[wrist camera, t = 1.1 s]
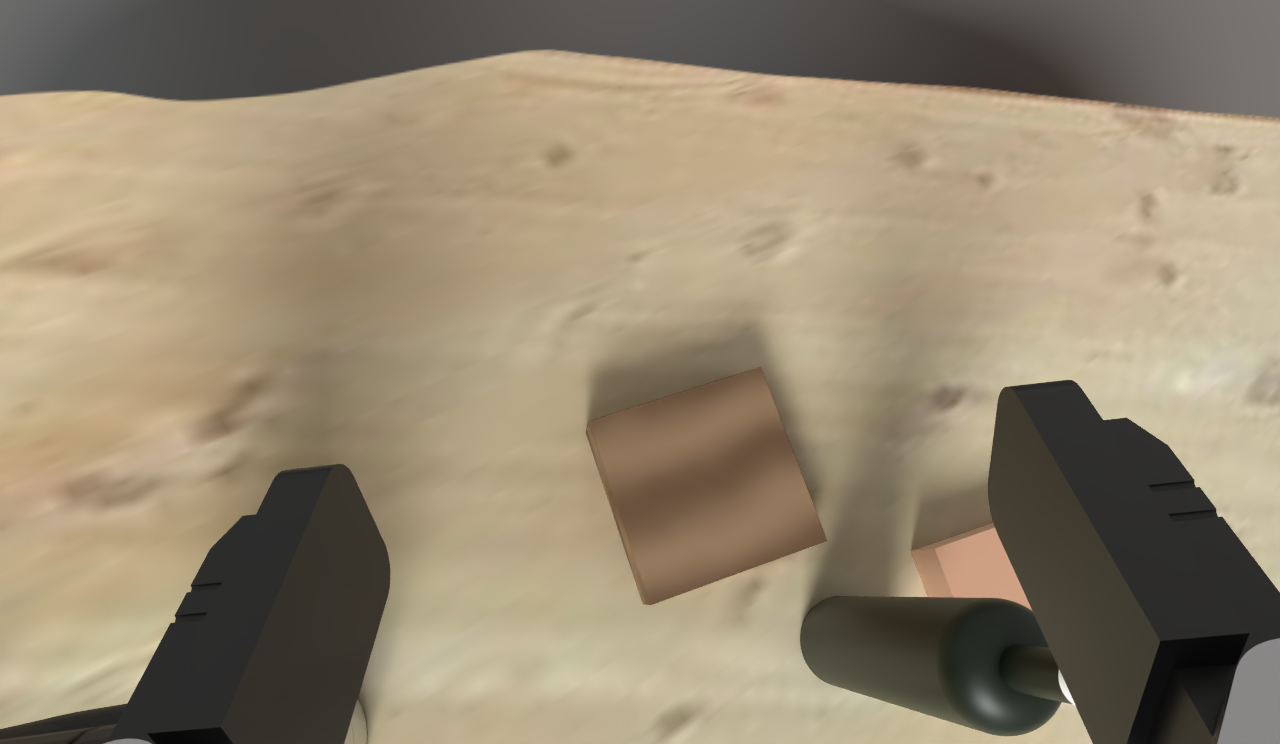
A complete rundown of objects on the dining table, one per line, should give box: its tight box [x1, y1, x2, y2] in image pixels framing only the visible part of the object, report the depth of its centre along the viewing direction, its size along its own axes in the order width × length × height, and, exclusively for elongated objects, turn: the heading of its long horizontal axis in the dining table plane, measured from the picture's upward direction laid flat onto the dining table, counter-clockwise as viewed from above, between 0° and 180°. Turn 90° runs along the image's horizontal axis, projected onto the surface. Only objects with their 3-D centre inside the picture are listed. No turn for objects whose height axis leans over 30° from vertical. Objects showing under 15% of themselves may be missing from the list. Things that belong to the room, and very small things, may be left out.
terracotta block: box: [911, 523, 1032, 610], centre depth 58 cm, size 8×8×4 cm
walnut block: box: [586, 367, 827, 605], centre depth 57 cm, size 12×12×4 cm
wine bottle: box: [800, 596, 1076, 736], centre depth 43 cm, size 6×6×30 cm
